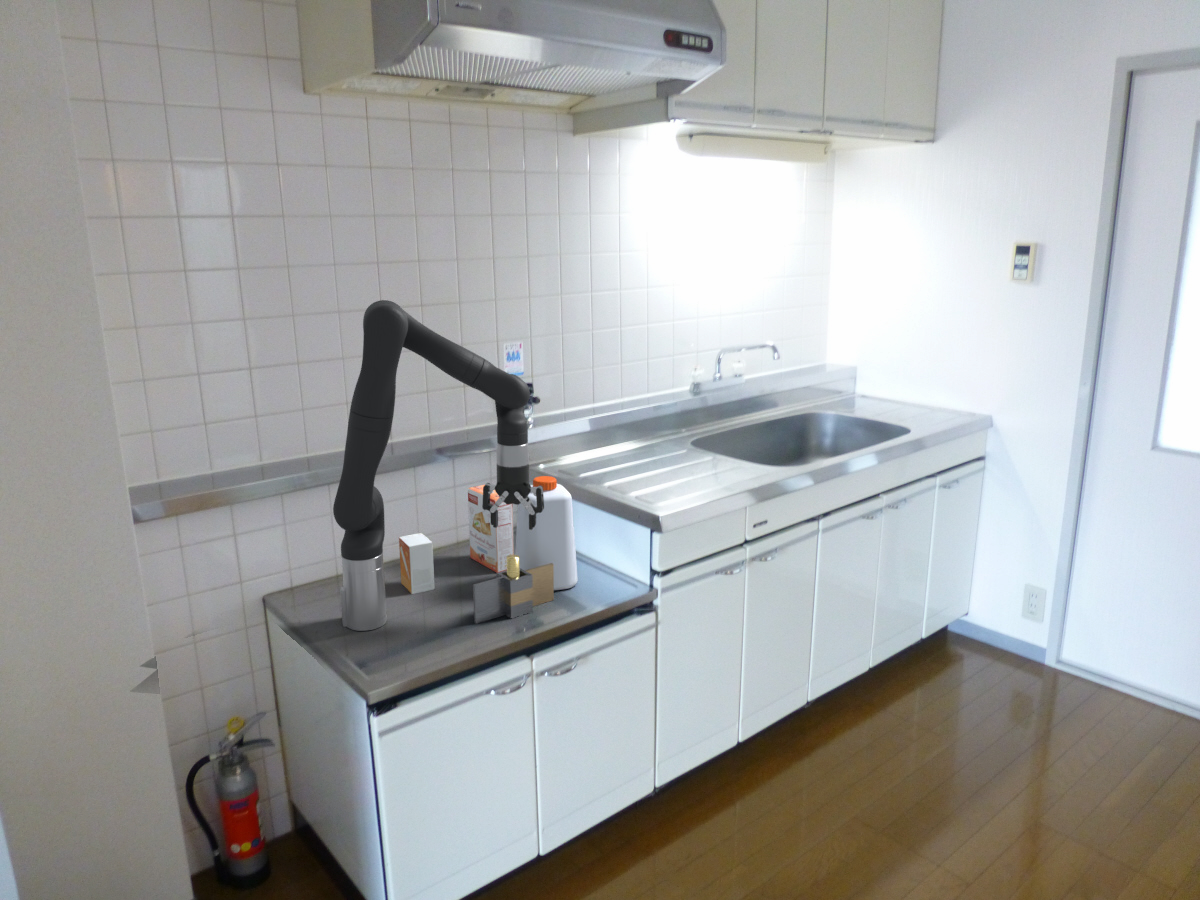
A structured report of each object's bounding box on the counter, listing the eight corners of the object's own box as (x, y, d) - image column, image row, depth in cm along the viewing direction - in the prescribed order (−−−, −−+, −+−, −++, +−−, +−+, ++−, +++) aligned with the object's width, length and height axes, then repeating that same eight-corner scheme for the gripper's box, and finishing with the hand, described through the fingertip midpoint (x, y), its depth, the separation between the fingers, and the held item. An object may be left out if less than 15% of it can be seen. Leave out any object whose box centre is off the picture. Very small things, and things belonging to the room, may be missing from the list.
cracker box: (468, 559, 243) (466, 487, 238) (487, 554, 247) (485, 483, 241) (496, 574, 232) (494, 499, 227) (514, 568, 236) (513, 495, 231)
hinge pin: (506, 613, 209) (505, 558, 205) (509, 608, 212) (508, 554, 208) (518, 614, 208) (517, 559, 205) (521, 608, 211) (520, 554, 208)
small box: (400, 583, 226) (398, 536, 222) (424, 579, 229) (421, 532, 226) (411, 594, 219) (408, 546, 216) (435, 589, 222) (433, 541, 219)
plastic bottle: (581, 589, 223) (581, 484, 216) (524, 596, 219) (522, 489, 212) (565, 567, 237) (565, 468, 230) (511, 573, 233) (509, 473, 226)
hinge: (481, 627, 201) (480, 589, 199) (468, 618, 206) (467, 580, 203) (560, 603, 214) (559, 567, 212) (545, 595, 219) (545, 559, 217)
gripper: (478, 464, 198) (480, 531, 202) (540, 467, 197) (540, 534, 201) (486, 456, 205) (487, 521, 209) (546, 458, 204) (546, 524, 208)
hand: (513, 527), depth 205 cm, fingers open, 8 cm apart
